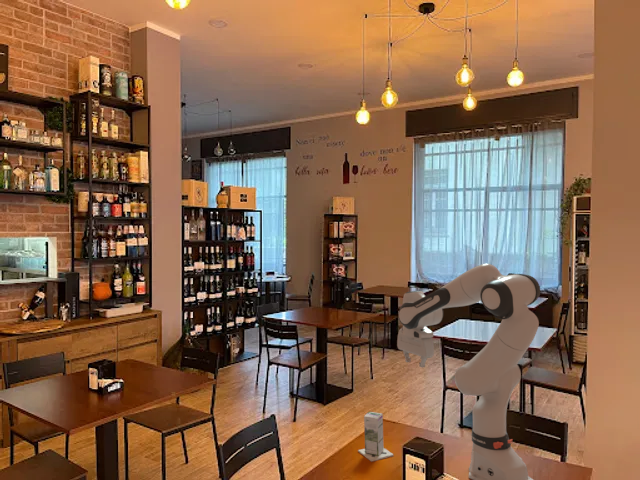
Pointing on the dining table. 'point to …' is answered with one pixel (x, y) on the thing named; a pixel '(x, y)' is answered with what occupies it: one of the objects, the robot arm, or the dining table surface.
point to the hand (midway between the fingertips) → (415, 364)
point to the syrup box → (373, 433)
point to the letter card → (374, 457)
